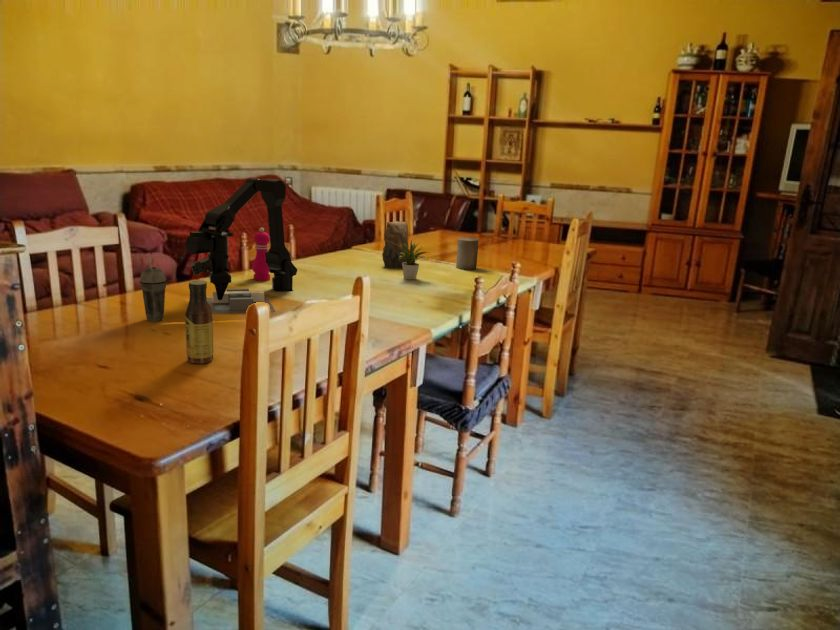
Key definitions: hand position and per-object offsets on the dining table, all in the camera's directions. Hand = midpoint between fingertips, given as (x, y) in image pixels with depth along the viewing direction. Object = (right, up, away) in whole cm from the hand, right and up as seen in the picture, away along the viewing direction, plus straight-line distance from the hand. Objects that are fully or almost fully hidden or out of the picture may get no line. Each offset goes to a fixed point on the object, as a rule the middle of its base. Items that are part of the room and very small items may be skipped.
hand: (219, 298), depth 204 cm
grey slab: (+7, -3, 0) cm, 7 cm away
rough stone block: (+55, +17, +82) cm, 100 cm away
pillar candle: (+86, +16, +89) cm, 125 cm away
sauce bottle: (+11, -17, -50) cm, 54 cm away
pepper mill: (+4, +8, +40) cm, 41 cm away
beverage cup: (-12, -7, -20) cm, 24 cm away
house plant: (+60, +10, +57) cm, 84 cm away
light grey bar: (+6, -1, +2) cm, 6 cm away
